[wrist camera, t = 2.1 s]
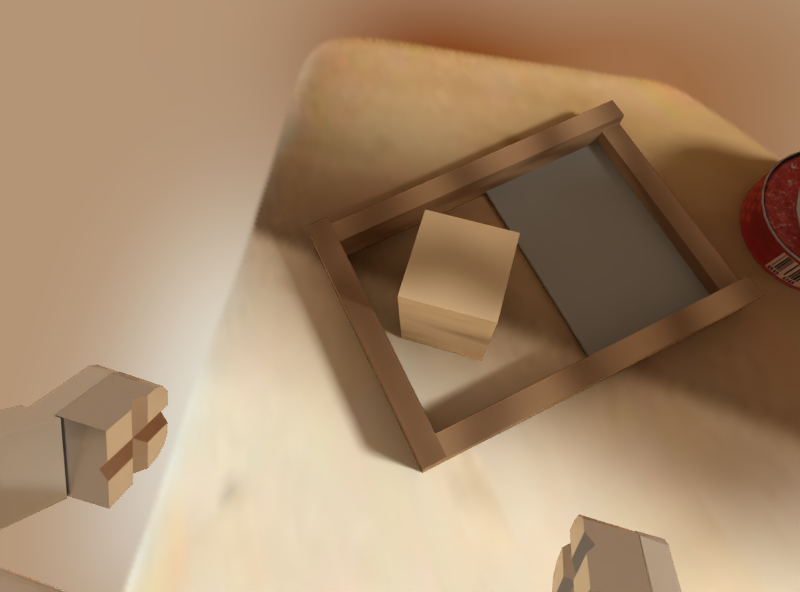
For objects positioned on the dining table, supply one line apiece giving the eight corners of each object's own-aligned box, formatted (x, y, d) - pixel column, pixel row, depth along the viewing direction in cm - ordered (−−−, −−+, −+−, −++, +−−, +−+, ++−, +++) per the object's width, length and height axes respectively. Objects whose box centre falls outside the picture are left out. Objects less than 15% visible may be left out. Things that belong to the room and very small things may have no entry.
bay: (601, 122, 44) (616, 90, 40) (742, 308, 38) (773, 289, 35) (315, 248, 40) (306, 225, 37) (422, 472, 35) (422, 468, 32)
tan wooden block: (423, 265, 40) (425, 209, 32) (500, 286, 39) (520, 232, 32) (401, 338, 38) (397, 296, 30) (481, 360, 37) (497, 322, 30)
